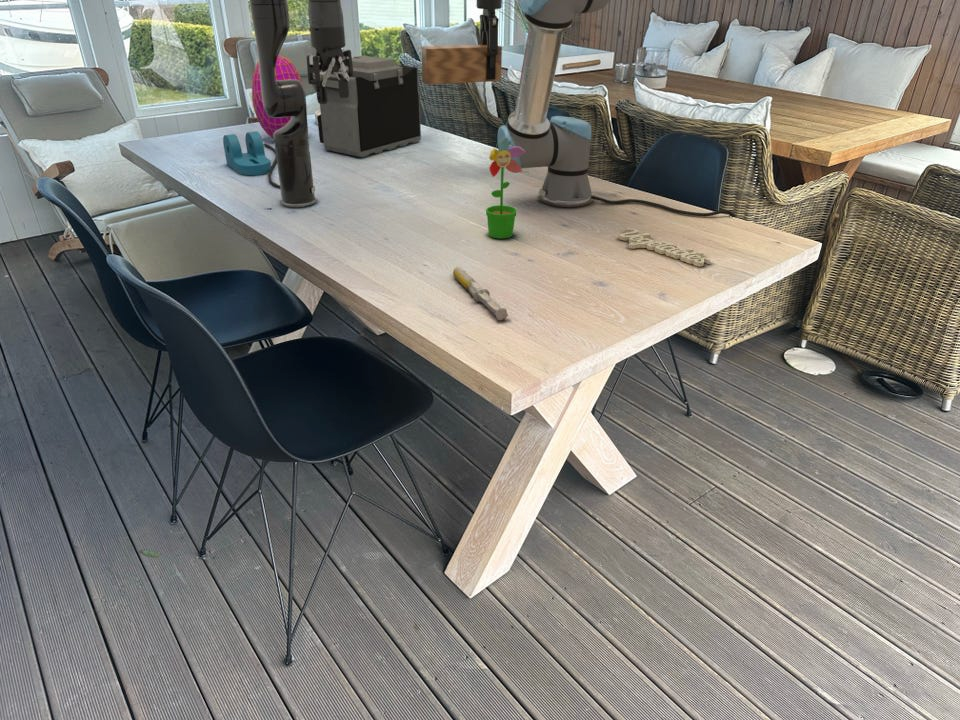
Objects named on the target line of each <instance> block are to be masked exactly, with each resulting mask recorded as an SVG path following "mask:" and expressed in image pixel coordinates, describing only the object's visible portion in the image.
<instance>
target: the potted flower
mask: <svg viewBox="0 0 960 720" xmlns="http://www.w3.org/2000/svg"><path fill="white" fill-rule="evenodd" d="M497 148H498V149H497ZM497 148H492V150H491V151H490V154H489V158H488V159H489V160H490V161H492V162H491V163H490V166H489V172H490V175H491V176H492V177H493V178H494V177H496V176H497V175H498V173H499V171H500V189H495V190H493V191H492V192H491V193H490V194H491V195H492V197H494V198H500V199H499V200H500V201H499V204H498V205H491V206H488V207H487V208H486V209H485V215H486V218H487V219H486V220H487V229H488V236H489V237H491V238H494V239H509V238H511V237H512V236H513V234H514V227H515V221H516V217H517V213H518V210H517V208H516V207H513V206H510V205H504V189H507V188H508V187H509V186H510V184H511V182H509V181H506V182H504V179H505V178H504V176H505V174H504V173H505V172H504V171H505V169H506V170H507V171H508V172H510V173H514V174H517V173H522V172H523V168H522V169H521V167H520V166H519V164H518V163H517V162H516V161H514V160H513V159H511V158H516V157H518V156H520V155H522V154H523V153H525V152H526V151H525V150H524V149H522V148H521V147H518V146H514V147H511V148H509V140H508V138H507V137H505V138H504V139H502V140H501V141H500V142H499V144H498V143H497ZM508 148H509V149H508Z"/></svg>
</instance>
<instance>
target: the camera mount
mask: <svg viewBox="0 0 960 720" xmlns="http://www.w3.org/2000/svg"><path fill="white" fill-rule="evenodd" d="M222 140H223V141H222V143H223V149H224V150H223V151H224V156H225V161H226V165H227V166H228V167H230V168H231V169H232V170H234V171H236V172H237V173H238V174H239V175H244V176H260V175H265V174H268V173H269V170H270V169H271V166H272V164H271V159H270V158H268V157H267V156H266V153H265V145H264V141H263V139H262V136H261V134H260V132H258V131H247V132H246V133H245V146H246V152H243V151H242V150H243V149H242V146H241V142H240V140H239V138H238V135H236V134H235V133H231V134H224V135H223V138H222Z"/></svg>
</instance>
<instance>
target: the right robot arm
mask: <svg viewBox="0 0 960 720" xmlns="http://www.w3.org/2000/svg"><path fill="white" fill-rule="evenodd" d="M611 1H612V0H518V4H519V8H520V10H521V12H522V13H524V19H525V21H526V22H527V24H528V31H527V35H526V42H525V49H524V54H523V60H522V67H521V71H520V79H519V85H518V90H517V96H516V103H515V108H514V111H513V112H511V113H510V114H509V115H508V117H507V122H506V125H505V124H503V125H501V126H499V128H498V130H497V145H498V144H499V142H500V141H501V140H502V139H504V138H505V137H507V138H508V140H509V148H511V147H514V146H518V147H521V148H522V149H524V150H525V151H526V152H525V153H523V154H522V155H520V156H518V157H516V158H511V159H513V160H514V161H516V162H517V163H518V164H519V166H520V167H521V169H522V170H523V169H532V168H533V169H534V168H544V167H546V168H547V173H546V176H545V178H544V181H543V184H542V187H541V188H539V191H538V195H539V200H540V202H542V203H543V204H546V205H549V206H553V207H558V208H559V207H560V208H580V207H584V206H588V205H589V204H591V203H592V200H593V201H594V200H595V201H598V202H602V203H604V204H608V205H621V204H627V203H628V204H629V203H635V204H643V205H648V206H653V207H656V208H659V209H663V210H666V211H669V212H671V213H676V214H681V215H687V216H694V217H713V216H716V215H720V214H721V215H722V214H727V215H729V216H730V217H731V218H736V214H735V213H734V212H733V211H731V210H729V209H719V210H715V211H711V212H710V211H709V212H696V211H689V210H688V211H687V210H682V209H677V208H675V207H674V208H673V207H671V206H667V205H666V204H665V205H664V204H660V203H658V202H653V201H649V200H644V199H636V198H627V199H618V200H610V199H607V198H606V199H605V198H603V197H599V196H595V195H593V193H592V188H591V184H590V179H589V165H590V153H591V143H592V126H591V124H590V123H589V122H588V121H586V120H583V119H580V118H576V117H570V116H564V115H563V116H562V115H555V116H551V118H550V120H549V119H548V118H547V115H548V111H549V107H550V101H551V95H552V91H553V85H554V81H555V77H556V73H557V72H556V71H557V67H558V62H559V57H560V52H561V48H562V43H563V37H564V34H565V33H564V32H565V31H566V30H568V29H569V28H570V27H572V24H573V20H574V15H575V14H591V13H595V12H597V11H600V10H601V9H604V8H605V7H606V6H607V5H608V4H609V3H610V2H611ZM502 7H503V0H476V8H477V9H480V10H482V14H479V45H487V52H488V54H486V55H485V56H486V57H487V60H486V79H487V80H492V79H495V71H496V55H498V46H499V17H497V15H496V10H500V9H502ZM509 148H508V149H509Z"/></svg>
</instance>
